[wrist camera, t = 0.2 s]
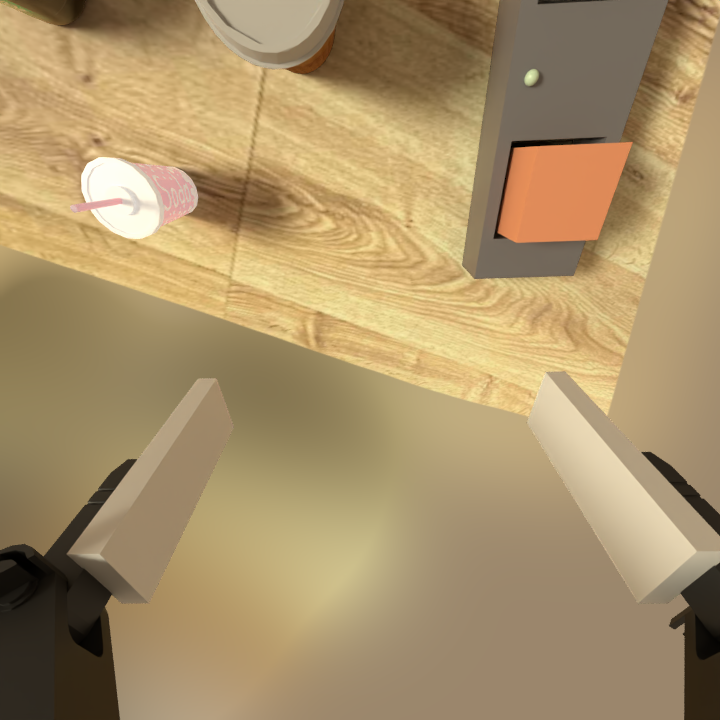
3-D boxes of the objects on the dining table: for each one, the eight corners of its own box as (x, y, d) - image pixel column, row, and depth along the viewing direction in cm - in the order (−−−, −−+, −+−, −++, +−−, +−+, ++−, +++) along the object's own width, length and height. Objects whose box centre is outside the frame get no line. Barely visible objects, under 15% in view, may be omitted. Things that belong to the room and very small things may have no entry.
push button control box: (552, -368, 18) (623, -567, 13) (740, -385, 17) (886, -596, 13) (462, 265, 37) (476, 281, 32) (549, 262, 37) (578, 278, 32)
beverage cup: (206, 228, 35) (127, 262, 24) (149, 213, 35) (39, 241, 23) (204, 166, 32) (112, 171, 20) (142, 149, 31) (9, 143, 20)
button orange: (511, 148, 28) (538, 146, 23) (591, 144, 27) (632, 142, 23) (495, 231, 31) (516, 242, 27) (566, 229, 31) (597, 239, 27)
